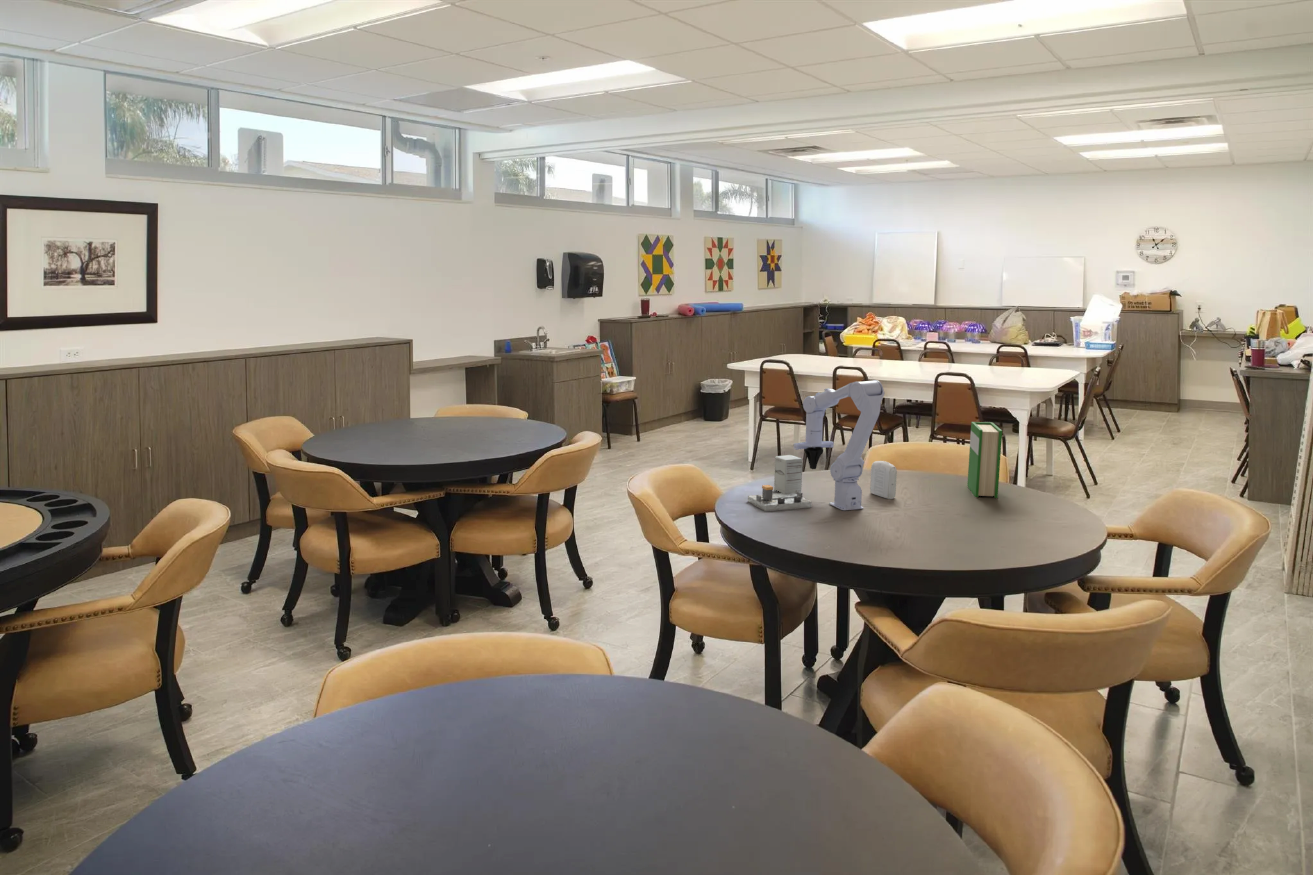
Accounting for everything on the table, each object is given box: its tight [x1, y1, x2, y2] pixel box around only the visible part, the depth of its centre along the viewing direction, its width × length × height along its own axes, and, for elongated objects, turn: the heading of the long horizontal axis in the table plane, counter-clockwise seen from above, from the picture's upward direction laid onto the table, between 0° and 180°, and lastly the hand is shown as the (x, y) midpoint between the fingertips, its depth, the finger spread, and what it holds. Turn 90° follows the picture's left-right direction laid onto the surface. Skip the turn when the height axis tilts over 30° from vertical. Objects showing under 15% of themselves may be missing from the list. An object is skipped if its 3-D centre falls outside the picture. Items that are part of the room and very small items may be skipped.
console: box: [747, 491, 813, 512], centre depth 316 cm, size 14×17×4 cm
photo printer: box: [869, 460, 898, 500], centre depth 327 cm, size 10×4×12 cm, turn 28°
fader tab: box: [761, 484, 774, 500], centre depth 314 cm, size 3×3×4 cm
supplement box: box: [773, 454, 804, 494], centre depth 333 cm, size 7×7×13 cm
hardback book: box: [966, 421, 1003, 499], centre depth 332 cm, size 18×7×24 cm, turn 171°
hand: (812, 468), depth 326 cm, fingers closed
